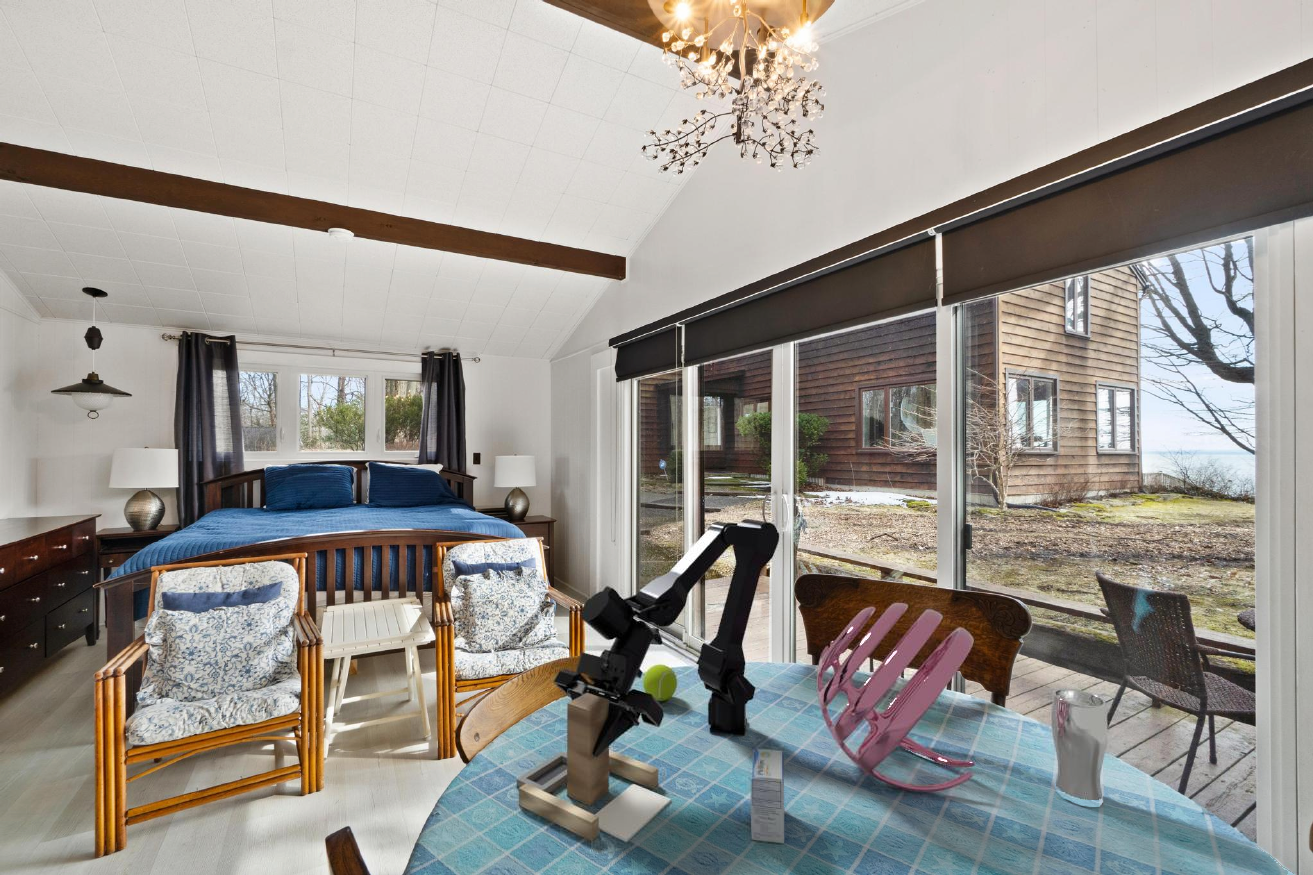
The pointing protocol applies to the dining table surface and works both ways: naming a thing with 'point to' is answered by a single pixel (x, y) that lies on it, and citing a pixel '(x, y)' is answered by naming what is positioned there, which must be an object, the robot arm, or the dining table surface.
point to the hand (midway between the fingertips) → (582, 750)
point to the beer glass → (1079, 741)
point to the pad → (630, 812)
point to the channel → (576, 816)
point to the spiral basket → (907, 704)
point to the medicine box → (767, 796)
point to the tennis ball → (660, 682)
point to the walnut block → (586, 749)
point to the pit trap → (547, 774)
